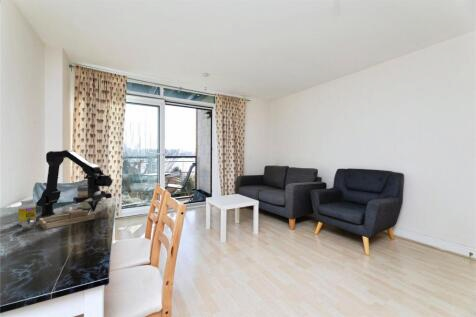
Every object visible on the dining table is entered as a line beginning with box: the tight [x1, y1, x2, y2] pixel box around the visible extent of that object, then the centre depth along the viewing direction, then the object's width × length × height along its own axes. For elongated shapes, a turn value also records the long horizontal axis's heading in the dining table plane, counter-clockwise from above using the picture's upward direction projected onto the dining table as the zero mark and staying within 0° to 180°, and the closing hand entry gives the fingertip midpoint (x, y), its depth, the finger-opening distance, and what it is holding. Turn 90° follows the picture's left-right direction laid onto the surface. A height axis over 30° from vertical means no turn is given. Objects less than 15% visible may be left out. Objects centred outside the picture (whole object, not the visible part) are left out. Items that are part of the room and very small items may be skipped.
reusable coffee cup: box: [76, 184, 93, 210], centre depth 147 cm, size 13×12×15 cm
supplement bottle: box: [18, 198, 37, 226], centre depth 114 cm, size 7×7×13 cm
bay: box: [38, 210, 95, 230], centre depth 118 cm, size 13×22×3 cm, turn 141°
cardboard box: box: [68, 208, 85, 219], centre depth 121 cm, size 6×6×5 cm
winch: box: [21, 217, 35, 232], centre depth 105 cm, size 6×4×7 cm
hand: (93, 211), depth 128 cm, fingers closed
